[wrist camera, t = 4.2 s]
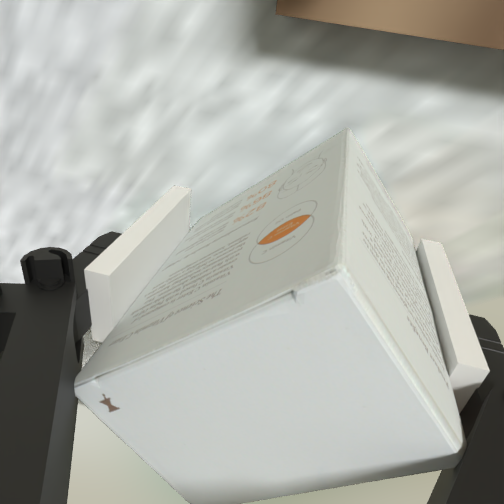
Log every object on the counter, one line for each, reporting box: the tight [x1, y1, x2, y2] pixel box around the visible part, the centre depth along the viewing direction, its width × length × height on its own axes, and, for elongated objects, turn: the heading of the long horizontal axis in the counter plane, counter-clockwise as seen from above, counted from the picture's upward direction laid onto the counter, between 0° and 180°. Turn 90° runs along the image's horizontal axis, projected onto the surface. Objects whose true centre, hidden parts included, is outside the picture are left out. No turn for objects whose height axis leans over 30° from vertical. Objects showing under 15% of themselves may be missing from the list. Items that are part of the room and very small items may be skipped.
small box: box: [74, 128, 467, 504], centre depth 13 cm, size 8×6×10 cm
